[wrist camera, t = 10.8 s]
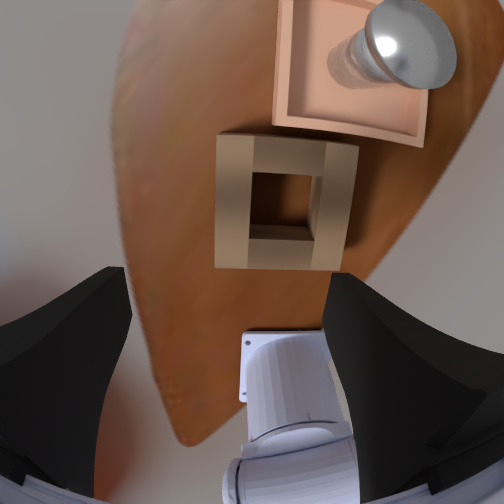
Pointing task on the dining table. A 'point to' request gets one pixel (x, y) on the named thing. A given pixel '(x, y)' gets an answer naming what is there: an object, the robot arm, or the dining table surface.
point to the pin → (396, 49)
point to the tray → (326, 88)
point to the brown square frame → (279, 236)
